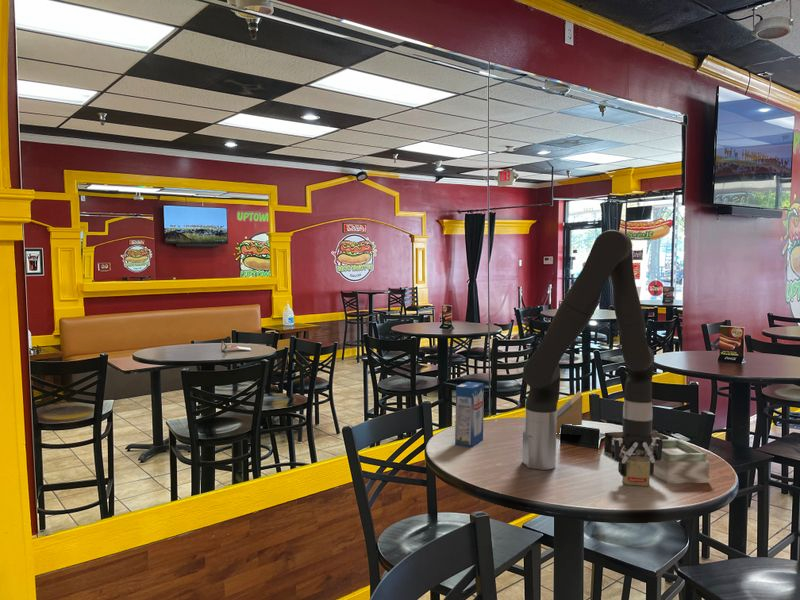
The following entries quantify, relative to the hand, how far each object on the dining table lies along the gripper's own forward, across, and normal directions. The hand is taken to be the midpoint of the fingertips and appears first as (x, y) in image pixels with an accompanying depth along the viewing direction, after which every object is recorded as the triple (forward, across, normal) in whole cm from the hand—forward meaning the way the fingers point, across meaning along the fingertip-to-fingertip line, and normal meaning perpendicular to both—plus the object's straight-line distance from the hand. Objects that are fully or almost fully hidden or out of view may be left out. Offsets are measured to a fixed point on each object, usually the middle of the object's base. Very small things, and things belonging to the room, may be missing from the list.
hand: (635, 475), depth 156 cm
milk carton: (+3, +39, -40) cm, 56 cm away
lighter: (+3, 0, 0) cm, 3 cm away
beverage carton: (+3, -14, -27) cm, 30 cm away
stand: (+2, -15, -7) cm, 17 cm away
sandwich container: (+3, +3, -52) cm, 52 cm away
